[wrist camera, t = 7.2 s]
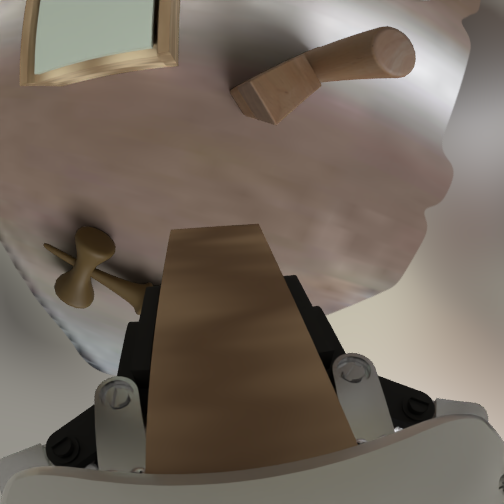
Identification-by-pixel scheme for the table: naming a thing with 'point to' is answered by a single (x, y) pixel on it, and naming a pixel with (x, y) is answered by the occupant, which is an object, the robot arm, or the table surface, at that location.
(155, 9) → the wooden box
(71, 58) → the lid
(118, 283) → the kendama
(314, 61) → the wooden block
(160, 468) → the wooden square column
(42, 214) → the table surface
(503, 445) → the robot arm
